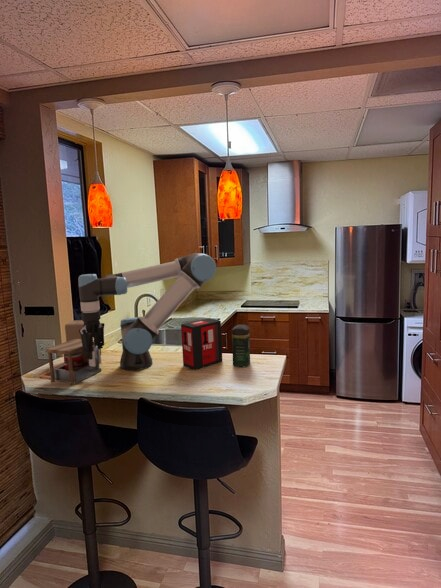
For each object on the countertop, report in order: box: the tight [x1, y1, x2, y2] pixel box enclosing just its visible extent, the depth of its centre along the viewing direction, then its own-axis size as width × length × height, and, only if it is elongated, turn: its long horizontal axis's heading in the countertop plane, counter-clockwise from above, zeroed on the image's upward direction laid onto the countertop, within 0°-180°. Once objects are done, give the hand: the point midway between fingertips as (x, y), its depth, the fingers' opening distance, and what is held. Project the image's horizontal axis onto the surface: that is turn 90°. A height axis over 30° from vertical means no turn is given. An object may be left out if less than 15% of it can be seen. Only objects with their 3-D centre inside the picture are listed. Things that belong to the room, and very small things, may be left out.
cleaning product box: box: [180, 317, 223, 371], centre depth 186 cm, size 16×9×20 cm, turn 131°
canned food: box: [63, 351, 84, 371], centre depth 176 cm, size 8×8×11 cm
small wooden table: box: [45, 339, 95, 386], centre depth 176 cm, size 13×17×15 cm
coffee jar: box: [231, 324, 251, 369], centre depth 183 cm, size 10×8×19 cm
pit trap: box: [38, 370, 51, 380], centre depth 182 cm, size 10×11×1 cm
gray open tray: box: [54, 345, 102, 384], centre depth 174 cm, size 20×12×15 cm, turn 67°
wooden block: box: [64, 319, 91, 342], centre depth 199 cm, size 10×10×20 cm
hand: (95, 364), depth 171 cm, fingers closed on gray open tray, 3 cm apart
